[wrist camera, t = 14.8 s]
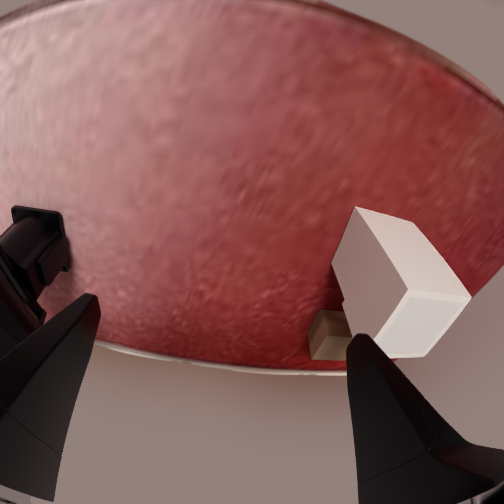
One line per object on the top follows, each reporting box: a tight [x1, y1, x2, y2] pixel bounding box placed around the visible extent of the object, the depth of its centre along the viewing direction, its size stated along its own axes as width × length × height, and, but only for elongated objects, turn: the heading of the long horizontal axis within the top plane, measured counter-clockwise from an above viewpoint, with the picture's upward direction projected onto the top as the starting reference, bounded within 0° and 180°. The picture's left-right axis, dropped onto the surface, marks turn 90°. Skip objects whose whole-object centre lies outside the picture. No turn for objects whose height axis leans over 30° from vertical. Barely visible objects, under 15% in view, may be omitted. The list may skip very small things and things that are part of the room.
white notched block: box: [331, 207, 472, 358], centre depth 19 cm, size 6×6×10 cm
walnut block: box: [307, 309, 353, 360], centre depth 27 cm, size 4×4×4 cm
